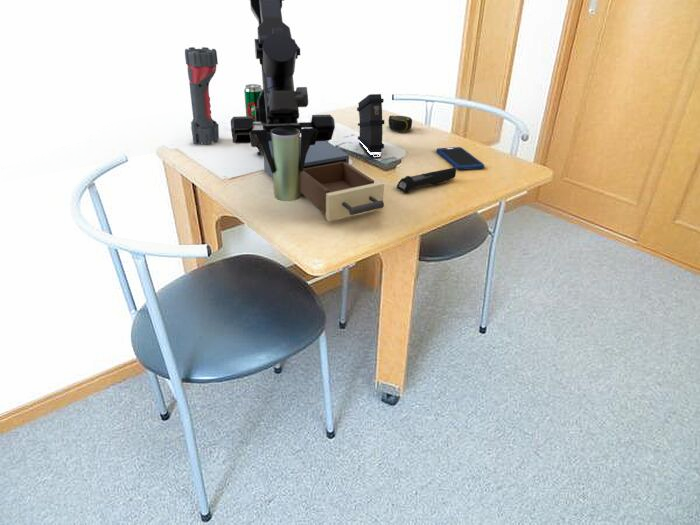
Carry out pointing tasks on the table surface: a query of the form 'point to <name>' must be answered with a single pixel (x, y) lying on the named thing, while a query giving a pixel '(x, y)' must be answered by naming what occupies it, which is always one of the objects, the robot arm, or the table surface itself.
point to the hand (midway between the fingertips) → (287, 172)
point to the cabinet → (317, 155)
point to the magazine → (371, 123)
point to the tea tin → (286, 163)
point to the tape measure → (400, 123)
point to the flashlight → (201, 93)
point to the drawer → (341, 190)
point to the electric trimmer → (425, 179)
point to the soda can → (252, 99)
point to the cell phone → (460, 158)
